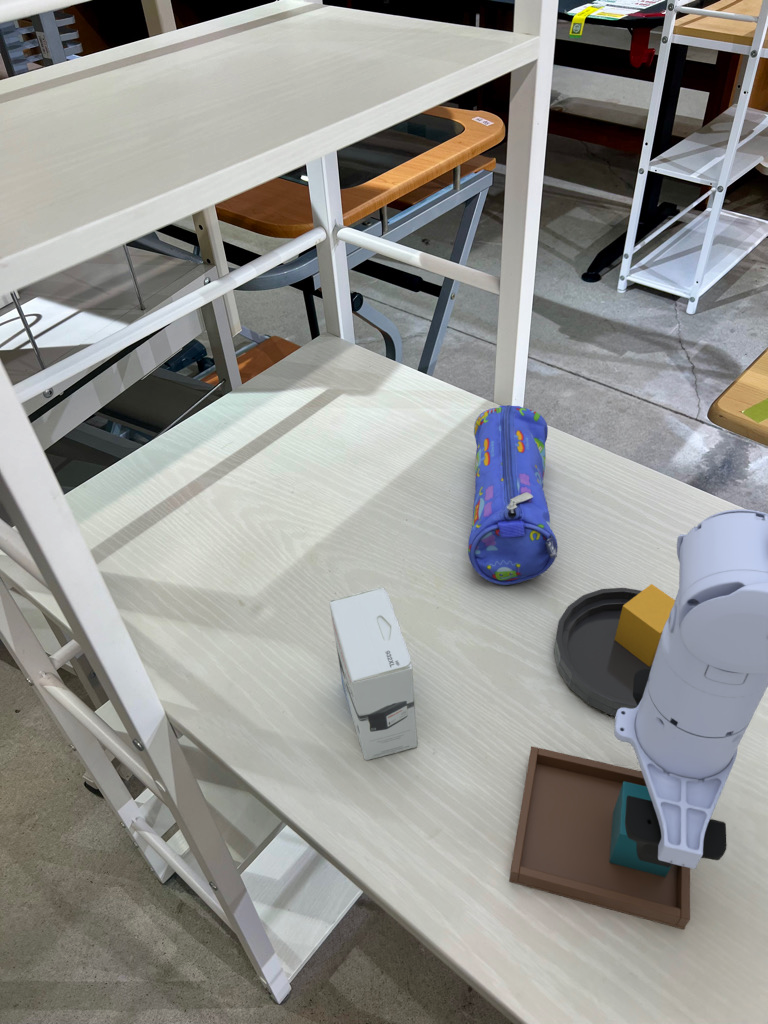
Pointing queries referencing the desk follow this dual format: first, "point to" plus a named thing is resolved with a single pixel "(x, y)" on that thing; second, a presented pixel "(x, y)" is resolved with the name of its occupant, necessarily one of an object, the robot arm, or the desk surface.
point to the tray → (587, 841)
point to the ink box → (375, 672)
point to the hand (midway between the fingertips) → (656, 803)
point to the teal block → (621, 845)
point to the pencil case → (510, 497)
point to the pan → (597, 650)
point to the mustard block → (644, 623)
